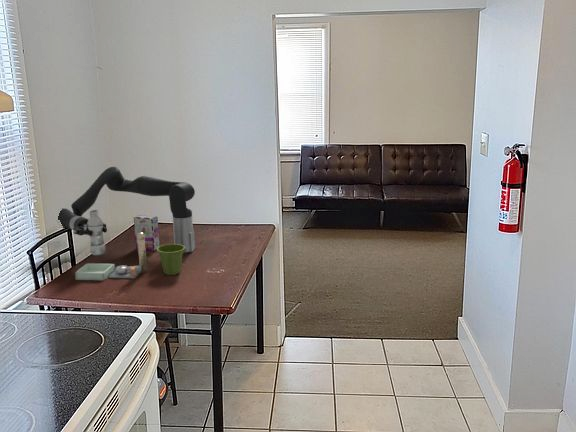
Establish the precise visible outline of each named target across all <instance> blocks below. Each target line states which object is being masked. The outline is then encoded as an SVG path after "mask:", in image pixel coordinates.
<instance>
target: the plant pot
mask: <svg viewBox="0 0 576 432" xmlns="http://www.w3.org/2000/svg"><path fill="white" fill-rule="evenodd" d="M184 249H185V247H184V246H183V245H180V244H174V243H168V244H162V245H160V246H159V247H158V248H157V250H156V251H157V252H158V255H159V257H160V258H159V259H160V263H161V267H162V270H163V274H164V275H168V276H175V275H177V274H180V273H181V270H182V269H181V268H182V262H183V261H182V260H183V255H184V253H183V250H184Z"/></svg>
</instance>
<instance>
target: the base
mask: <svg viewBox="0 0 576 432" xmlns="http://www.w3.org/2000/svg"><path fill="white" fill-rule="evenodd" d="M140 273H142V271H135V275H131V272H126V273H123V274H118V273H116V269H115V271H114V272H113V273H112V274H111V275H109V277H108V278H109V279H136V278H137V276H139V275H140Z"/></svg>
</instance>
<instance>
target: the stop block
mask: <svg viewBox="0 0 576 432" xmlns="http://www.w3.org/2000/svg"><path fill="white" fill-rule="evenodd" d="M131 275H135V267H131Z"/></svg>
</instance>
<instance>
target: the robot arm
mask: <svg viewBox="0 0 576 432" xmlns="http://www.w3.org/2000/svg"><path fill="white" fill-rule="evenodd" d="M104 186H106V187H107V189H109V190H110V191H113V192H122V193H123V192H125V193H133V194H137V195H138V194H139V195H143V196H147V197H148V196H149V197H164V196H165V197H166V196H168V198H169V207H170V212H171V214H172V227H173V241H174V243H173V244H180V245H183V246H184V247H185V249H184V250H183V254H185V253H193V251H194V250H195V249H196V242H195V241H196V239H195V230H194V228H193V226H194V224H193V210H192V209H191V208H188V206H187V202H188V201H190V200H192V199H193V198H194V196H195V195H196V193H195V192H196V190H195V188H194V187H193V185H191V184H190V183H188V182H185V181H171V180H166V179H160V178H155V177H152V176H151V177H150V176H145V175H142V176H139V177H136V178H135V179H133V180H129V179H126V178H124V176H123V174H122V172H121V171H120V169H119V167H117V166H110V167H107V168H106V169H105V170H104V171H102V172H101V173H100V175H99V176H98V177H97V179H95V181H94V182H93V183H92V184H91V185H90V186H89V188H88V189H87V190H86V191H85V192H84V193H83V194H82V195H81V196H79V197H78V198H77V199H75V201H73V202H72V204H71V206H70V207H71V209H72V211H71V210H70V209H68V208H61V209H62V210H61V211H60V213H59V216H58V220H60V222H61V224H62V226H63V227H62V226H61V227H62V228H63V229H64V228H67V227H68V228H69V229H70V230H72V231H73V234H74V235H78V236H83V235H84V236H89V237H90V236H92V231H91V230H89V229H88V225H87V222H88V220H89V218H87V217H84V214H85V213H86V212H87V211H89V210H90V209H91V207H92V206H93V205H95V203H96V201H97V199H98V197H99V194H100V193H101V191H102V189H103V188H104ZM107 231H108V228H107V224H106V223H104V222H103V234H104V233H107Z"/></svg>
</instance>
